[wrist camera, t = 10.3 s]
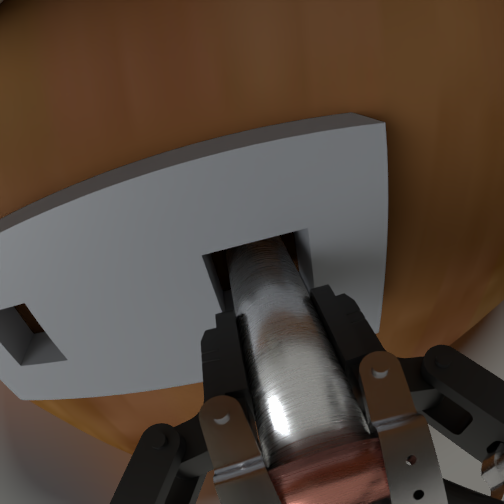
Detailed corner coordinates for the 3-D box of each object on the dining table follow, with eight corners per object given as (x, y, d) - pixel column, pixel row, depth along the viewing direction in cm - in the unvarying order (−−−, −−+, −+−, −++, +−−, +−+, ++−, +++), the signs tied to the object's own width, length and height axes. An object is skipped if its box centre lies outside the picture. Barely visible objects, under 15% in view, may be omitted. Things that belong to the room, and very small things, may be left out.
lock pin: (288, 208, 15) (435, 470, 4) (298, 274, 17) (396, 499, 6) (206, 229, 14) (242, 532, 4) (226, 293, 17) (272, 537, 6)
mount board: (351, 112, 13) (385, 122, 10) (359, 301, 19) (378, 332, 17) (-55, 250, 12) (-78, 276, 10) (30, 371, 19) (21, 400, 16)
